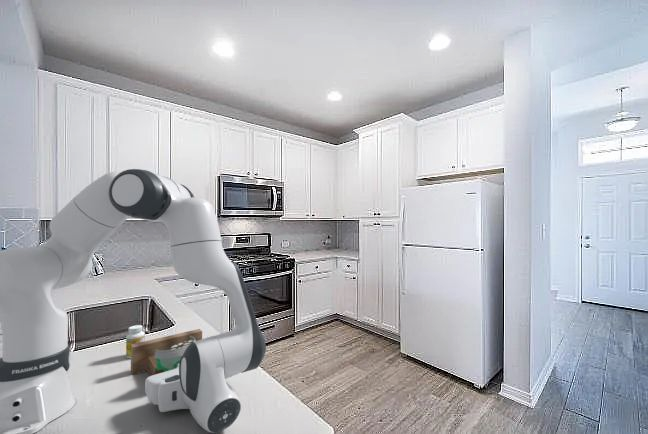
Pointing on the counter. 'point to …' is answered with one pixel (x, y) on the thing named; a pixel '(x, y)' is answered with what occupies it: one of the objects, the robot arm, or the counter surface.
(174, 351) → the food container
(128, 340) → the supplement bottle
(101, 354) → the counter surface
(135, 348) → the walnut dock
